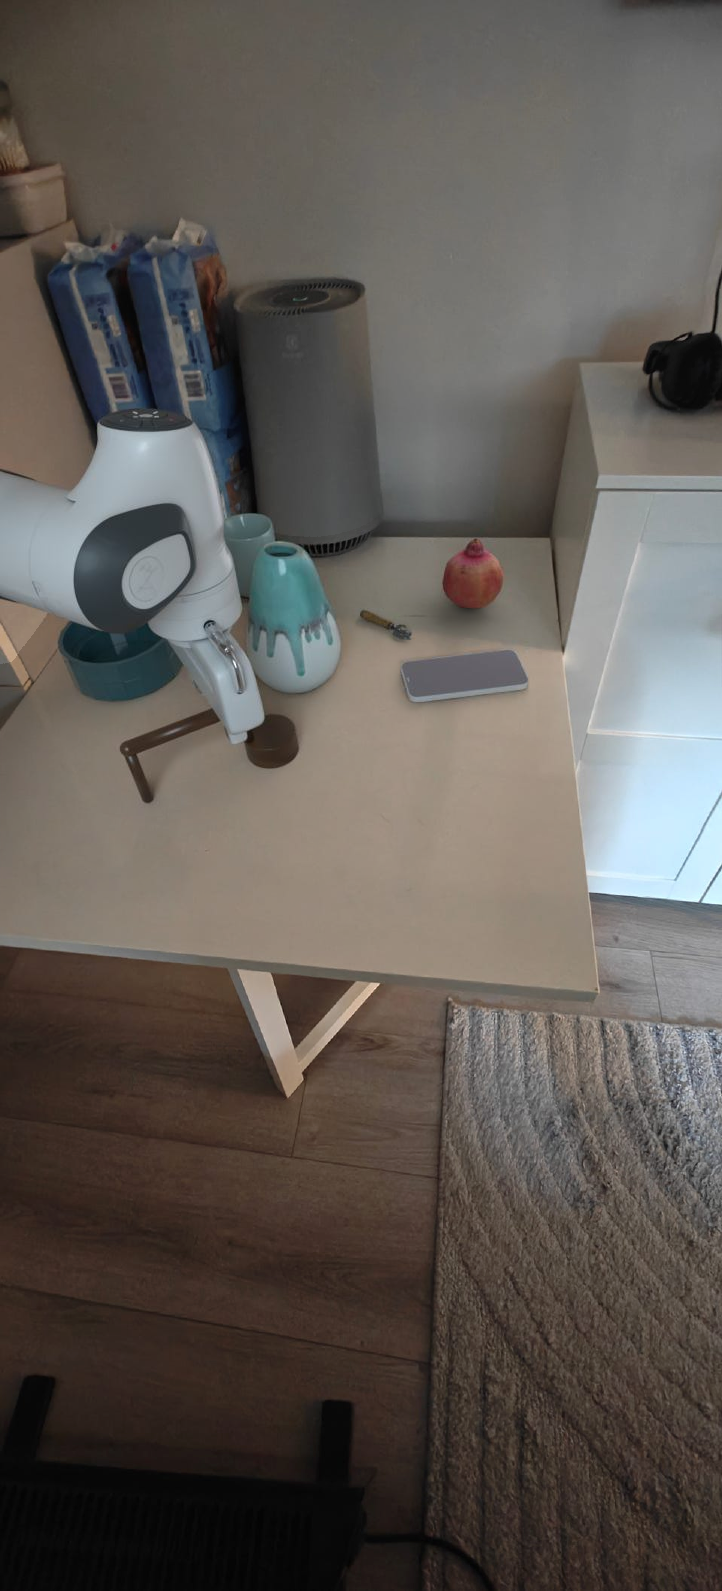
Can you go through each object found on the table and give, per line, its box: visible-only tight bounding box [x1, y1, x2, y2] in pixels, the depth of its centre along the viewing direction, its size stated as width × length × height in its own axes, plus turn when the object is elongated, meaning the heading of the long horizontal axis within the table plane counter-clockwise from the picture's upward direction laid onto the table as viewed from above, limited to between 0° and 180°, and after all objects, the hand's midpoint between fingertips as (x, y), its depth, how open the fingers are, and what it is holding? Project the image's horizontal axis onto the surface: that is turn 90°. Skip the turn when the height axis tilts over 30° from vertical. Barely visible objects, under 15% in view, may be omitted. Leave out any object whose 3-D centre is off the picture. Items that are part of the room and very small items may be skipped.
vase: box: [245, 540, 342, 694], centre depth 87 cm, size 12×12×18 cm
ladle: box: [119, 707, 300, 804], centre depth 79 cm, size 19×6×9 cm, turn 119°
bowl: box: [57, 620, 182, 702], centre depth 94 cm, size 14×14×6 cm
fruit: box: [441, 538, 504, 609], centre depth 98 cm, size 8×8×10 cm
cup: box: [223, 512, 277, 599], centre depth 104 cm, size 8×8×10 cm
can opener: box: [359, 609, 413, 641], centre depth 99 cm, size 9×2×1 cm, turn 44°
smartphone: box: [400, 648, 530, 703], centre depth 91 cm, size 7×1×15 cm
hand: (220, 712), depth 77 cm, fingers open, 8 cm apart
